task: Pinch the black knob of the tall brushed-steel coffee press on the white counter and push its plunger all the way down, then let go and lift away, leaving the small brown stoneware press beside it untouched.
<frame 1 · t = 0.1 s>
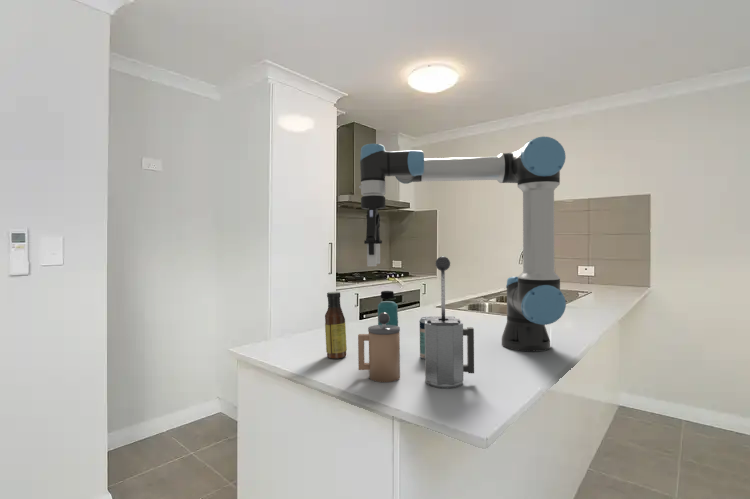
hand: (374, 265, 124), 28 cm above the worktop, fingers open, 13 cm apart
beer can: (427, 358, 121), on the worktop
plunger: (443, 296, 100), point 21 cm above the worktop, slide at 0.0 cm
sauce bottle: (336, 357, 124), on the worktop
steel carafe: (443, 381, 100), on the worktop
beverage bottle: (388, 356, 124), on the worktop
stoneware press: (384, 376, 104), on the worktop
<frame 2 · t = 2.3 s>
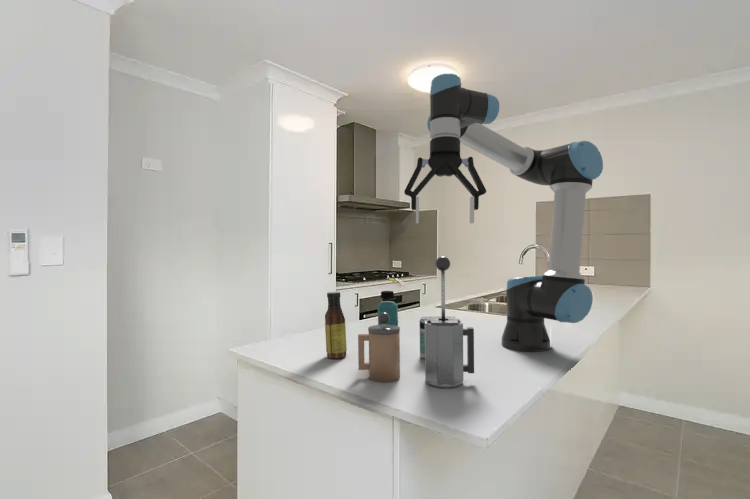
hand: (444, 223, 102), 40 cm above the worktop, fingers open, 13 cm apart
nothing on the worktop moved.
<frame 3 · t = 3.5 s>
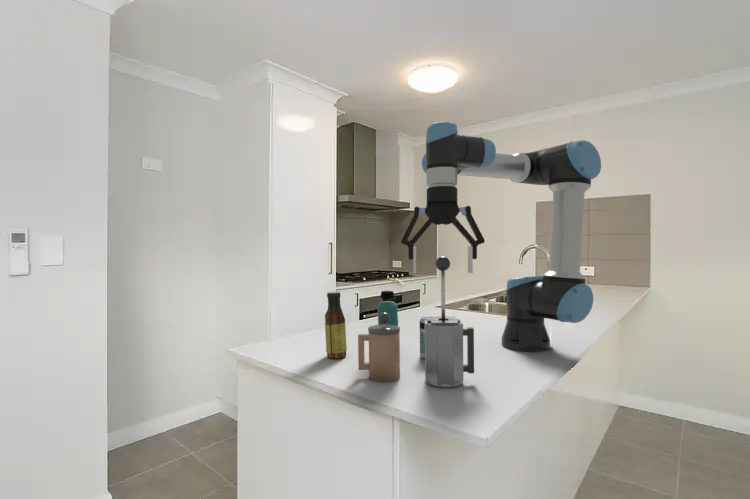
hand: (442, 273, 100), 27 cm above the worktop, fingers open, 13 cm apart
nothing on the worktop moved.
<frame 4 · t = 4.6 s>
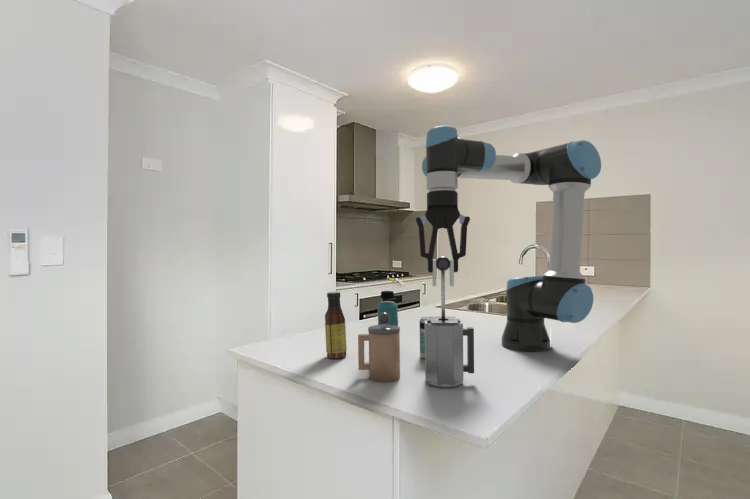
hand: (443, 285, 100), 24 cm above the worktop, fingers closed on plunger, 4 cm apart
plunger: (443, 296, 100), point 21 cm above the worktop, slide at 0.0 cm, touching gripper
everything else where it was.
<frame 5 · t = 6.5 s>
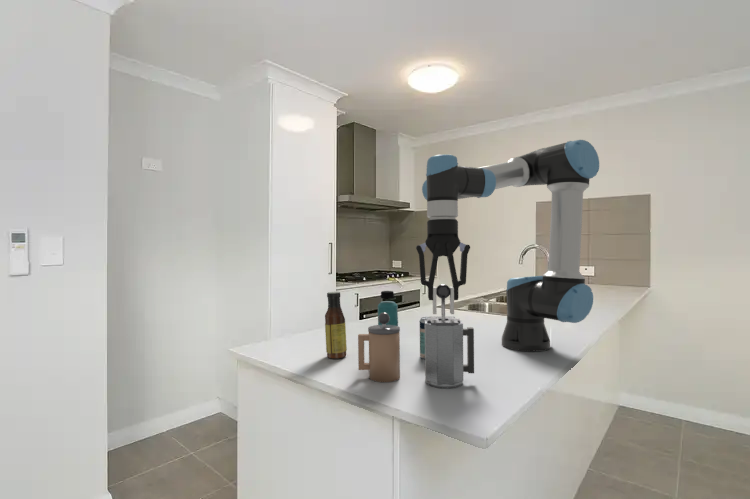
hand: (443, 313, 100), 17 cm above the worktop, fingers closed on plunger, 4 cm apart
plunger: (443, 323, 100), point 15 cm above the worktop, slide at 6.9 cm, touching gripper
everything else where it was.
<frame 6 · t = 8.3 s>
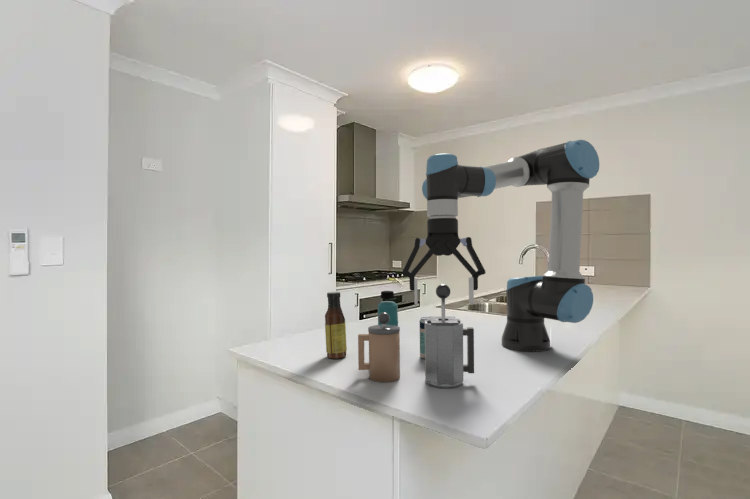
hand: (443, 303, 100), 20 cm above the worktop, fingers open, 13 cm apart
plunger: (443, 323, 100), point 15 cm above the worktop, slide at 6.9 cm
everything else where it was.
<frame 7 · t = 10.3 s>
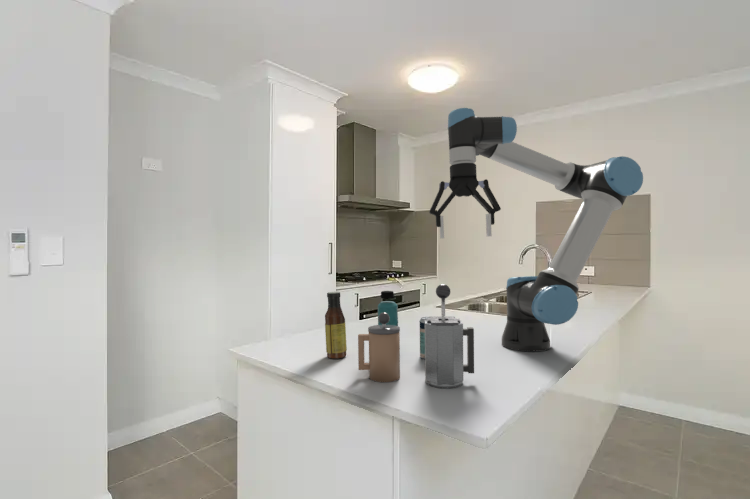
hand: (465, 237, 117), 36 cm above the worktop, fingers open, 13 cm apart
nothing on the worktop moved.
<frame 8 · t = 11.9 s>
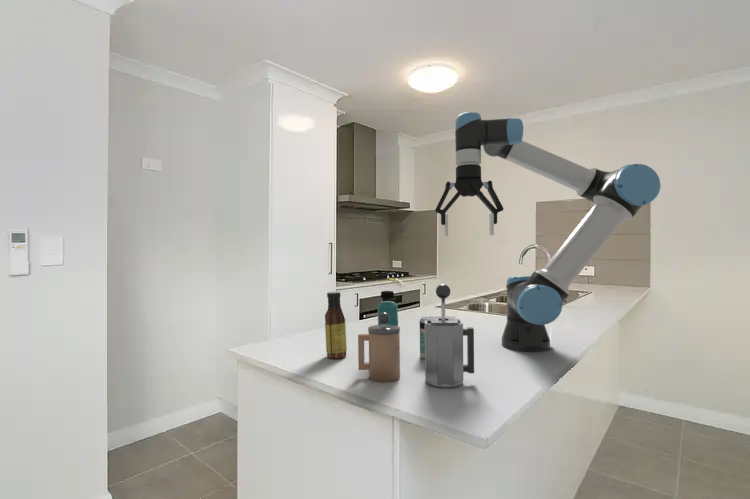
hand: (468, 235, 123), 37 cm above the worktop, fingers open, 13 cm apart
nothing on the worktop moved.
at the end: plunger slide at 6.9 cm; plunger point 14.5 cm above the worktop; the gripper is holding nothing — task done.
